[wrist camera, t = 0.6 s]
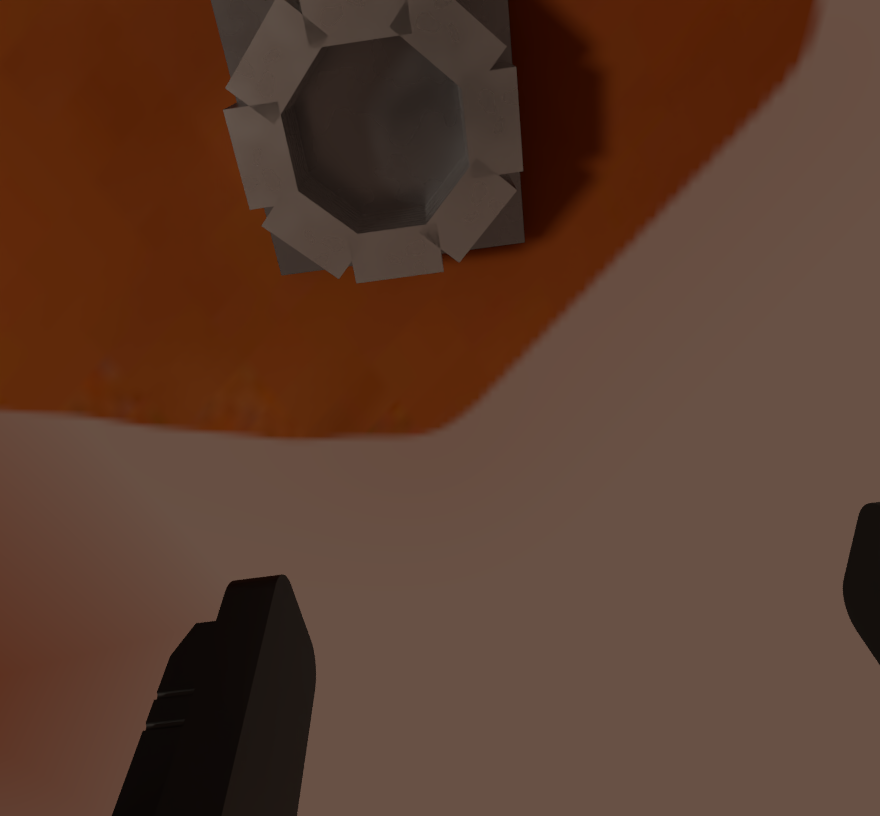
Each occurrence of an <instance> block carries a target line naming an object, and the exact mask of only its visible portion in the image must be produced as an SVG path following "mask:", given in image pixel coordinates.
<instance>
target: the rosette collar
mask: <svg viewBox="0 0 880 816" xmlns="http://www.w3.org/2000/svg"><path fill="white" fill-rule="evenodd" d="M211 3H212V7H213V10H214V14H215V18H216V22H217V26H218V30H219V34H220V38H221V42H222V45H223V49H224V53H225V57H226V61H227V65H228V69H229V73H230V77H231V79H230V81H229V83H228V84H227V86H226V89H227V90H228V91H230V92H231V93H232V94H234V95H235V96H236V100H237V103H235V104H233V105H231V106H229V107H227V108H225V109H224V110H223V111H224V115H225V119H226V122H227V126H228V130H229V134H230V137H231V141H232V145H233V149H234V152H235V156H236V160H237V163H238V167H239V171H240V175H241V178H242V182H243V186H244V190H245V193H246V197H247V201H248V205H249V208H250V210H251V209H258V208H264V209H265V213H266V217H267V218H266V220H265V221H264V223H263V224H262V227H264V228H265V229H267V230H268V231H270V232H271V236H272V240H273V244H274V248H275V252H276V256H277V260H278V263H279V267H280V271H281V275H288V274H295V273H303V272H310V271H317V270H326V271H328V272H329V273H331V274H332V275H334V276H335V277H337V278H338V279H339V278H340V277H341V275H342V274H343V273H344V271H345V270H346V268H347V267H348V266H353V269H354V274H355V279H356V283H363V282H370V281H377V280H385V279H392V278H400V277H407V276H415V275H422V274H429V273H437V272H444V270H443V260H442V254H443V253H447V254H448V255H450V256H451V257H452V258H454V259H455V260H456V261H458V262H460V261H461V260H462V259H463V257H464V256H465V255H466V254H467V252H468V251H469V250H472V249H479V248H487V247H494V246H501V245H509V244H516V243H524V242H525V239H524V224H523V210H522V196H521V181H520V172H522V171H523V159H522V145H521V130H520V115H519V100H518V85H517V70H516V66H514V65H513V64H512V52H511V38H510V24H509V9H508V0H211Z"/></svg>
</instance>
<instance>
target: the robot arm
mask: <svg viewBox="0 0 880 816" xmlns="http://www.w3.org/2000/svg"><path fill="white" fill-rule="evenodd" d="M843 596H844V602H845V606H846V609H847V612H848V615H849V617H850V619H851V622H852V624H853V625H854V627H855V629H856V630H857V632H858V633H859V635H860V636H861V638H862V639H863V641H864V642H865V644H866V645H867V646H868V648H869V650H870V651H871V653H872V654H873V656H874V657H875V658H876V660H877V661H878V663H879V664H880V502H876V503H869V504H866V505H865V506H863V507H862V509H861V511H860V513H859V516H858V520H857V525H856V529H855V534H854V538H853V542H852V546H851V550H850V555H849V559H848V563H847V568H846V572H845V576H844V581H843ZM315 683H316V666H315V655H314V650H313V646H312V642H311V640H310V636H309V634H308V631H307V628H306V625H305V623H304V620H303V617H302V614H301V611H300V609H299V606H298V603H297V601H296V598H295V595H294V592H293V589H292V587H291V584H290V581H289V580H288V578H287V577H286V576H285V575H275V576H267V577H260V578H251V579H243V580H236V581H232V582H231V583H230V584H229V585H228V587H227V589H226V591H225V594H224V597H223V600H222V604H221V607H220V610H219V613H218V616H217V619H216V621H212V622H204V623H196V624H195V625H194V627H193V628H192V629H191V631H190V632H189V633H188V634H187V636H186V637H185V638H184V639H183V641H182V642H181V643H180V644H179V646H178V647H177V648H176V650H175V651H174V652H173V653H172V655H171V656H170V658H169V661H168V664H167V666H166V669H165V672H164V675H163V678H162V680H161V683H160V686H159V688H158V691H157V694H158V697H157V700H154V702H153V705H152V707H151V710H150V713H149V716H148V718H147V721H146V730H145V731H143V732H142V735H141V738H140V740H139V743H138V746H137V748H136V751H135V754H134V757H133V760H132V762H131V765H130V768H129V770H128V773H127V776H126V778H125V781H124V784H123V787H122V789H121V792H120V795H119V798H118V800H117V803H116V806H115V809H114V811H113V814H112V816H297V811H298V804H299V797H300V789H301V783H302V776H303V769H304V762H305V755H306V747H307V741H308V734H309V728H310V721H311V714H312V707H313V699H314V692H315Z"/></svg>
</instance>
